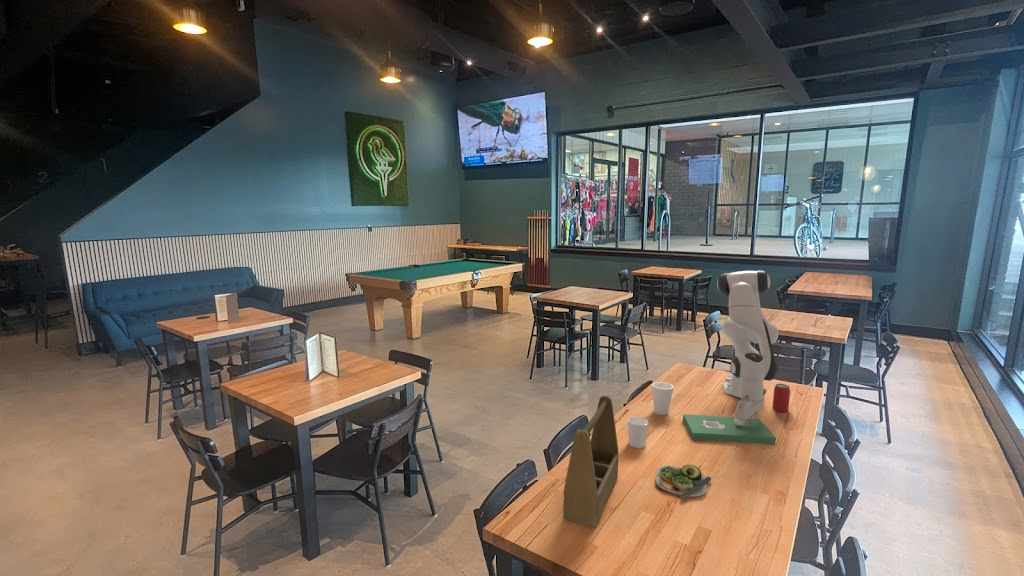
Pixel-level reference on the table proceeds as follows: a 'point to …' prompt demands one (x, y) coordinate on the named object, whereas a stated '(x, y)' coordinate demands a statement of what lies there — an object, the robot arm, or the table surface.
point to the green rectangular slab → (727, 429)
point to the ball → (739, 422)
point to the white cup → (637, 431)
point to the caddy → (592, 468)
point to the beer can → (781, 398)
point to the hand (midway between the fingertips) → (748, 423)
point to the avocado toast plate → (683, 480)
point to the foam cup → (662, 397)
